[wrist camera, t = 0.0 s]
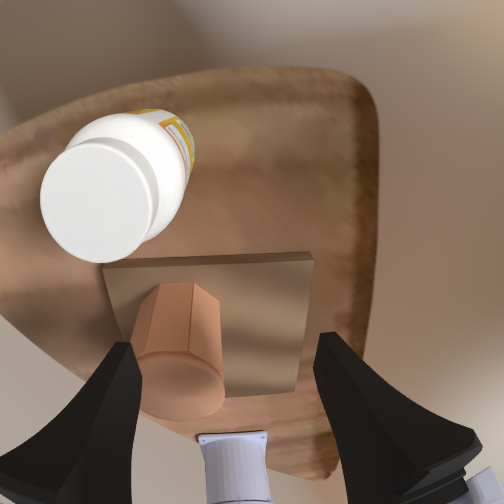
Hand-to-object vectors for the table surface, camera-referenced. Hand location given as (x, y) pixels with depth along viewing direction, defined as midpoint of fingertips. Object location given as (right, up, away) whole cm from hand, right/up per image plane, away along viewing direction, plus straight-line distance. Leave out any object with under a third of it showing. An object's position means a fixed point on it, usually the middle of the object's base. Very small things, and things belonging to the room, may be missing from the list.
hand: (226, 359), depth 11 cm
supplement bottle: (-5, +10, +6) cm, 13 cm away
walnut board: (-2, -2, +12) cm, 13 cm away
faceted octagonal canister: (-4, 0, +10) cm, 11 cm away
